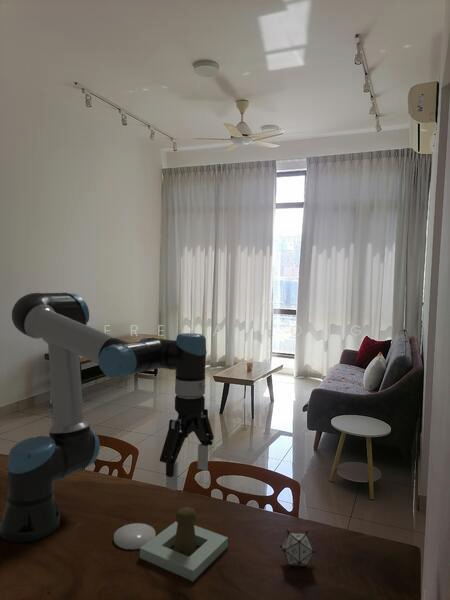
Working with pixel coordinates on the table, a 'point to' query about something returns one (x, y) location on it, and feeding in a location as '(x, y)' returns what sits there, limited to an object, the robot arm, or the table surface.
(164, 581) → the table surface
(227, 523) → the table surface
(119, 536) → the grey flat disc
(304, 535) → the game die
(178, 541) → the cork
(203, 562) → the frame
